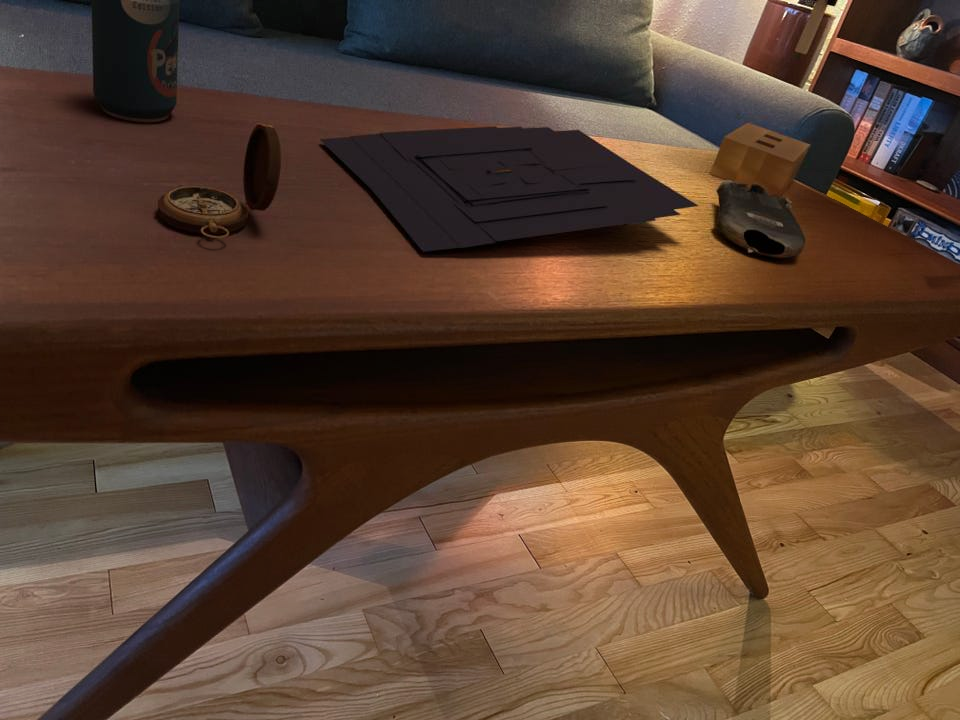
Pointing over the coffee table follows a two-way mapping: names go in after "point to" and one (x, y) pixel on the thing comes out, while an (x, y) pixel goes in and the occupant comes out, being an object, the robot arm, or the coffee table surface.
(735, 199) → the electronic device
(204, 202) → the compass
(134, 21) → the soda can
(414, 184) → the papers
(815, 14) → the stylus
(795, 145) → the pen holder
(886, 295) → the coffee table surface
